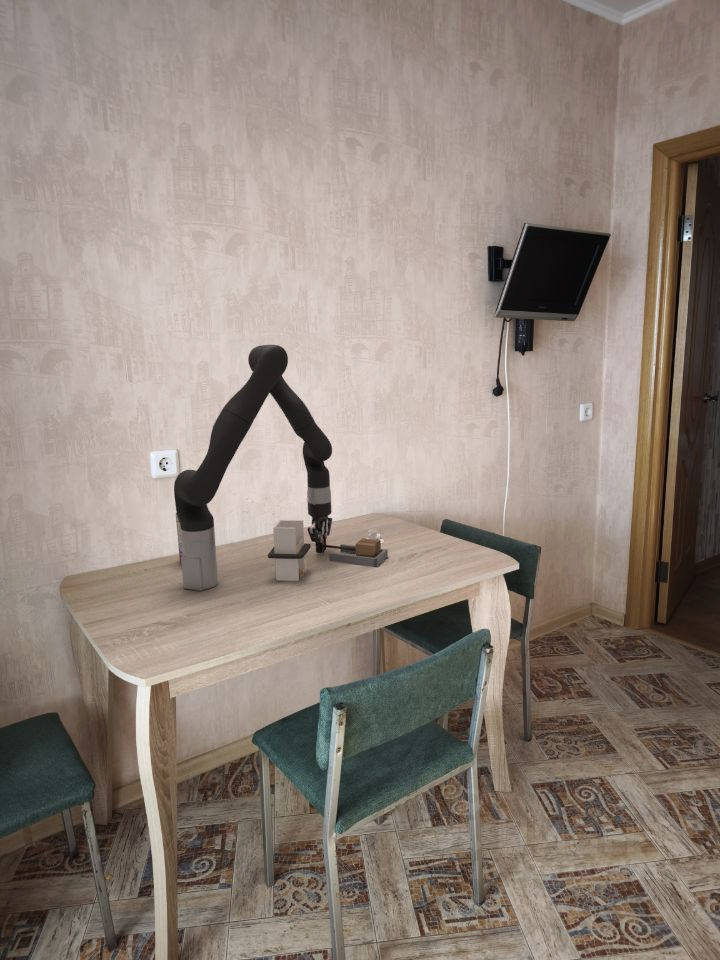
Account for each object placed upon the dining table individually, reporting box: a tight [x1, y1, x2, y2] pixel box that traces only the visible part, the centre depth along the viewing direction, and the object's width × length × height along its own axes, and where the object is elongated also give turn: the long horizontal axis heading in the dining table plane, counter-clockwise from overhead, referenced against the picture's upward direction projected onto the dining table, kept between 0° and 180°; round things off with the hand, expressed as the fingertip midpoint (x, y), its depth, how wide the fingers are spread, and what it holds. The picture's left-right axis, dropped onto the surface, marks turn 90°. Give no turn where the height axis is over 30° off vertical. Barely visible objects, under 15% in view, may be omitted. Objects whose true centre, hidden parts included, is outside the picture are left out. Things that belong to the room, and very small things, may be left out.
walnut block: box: [322, 537, 382, 558], centre depth 209 cm, size 6×20×6 cm, turn 67°
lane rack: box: [328, 543, 389, 568], centre depth 208 cm, size 10×16×2 cm, turn 67°
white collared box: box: [267, 519, 311, 582], centre depth 194 cm, size 25×24×16 cm
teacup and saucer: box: [366, 529, 385, 544], centre depth 225 cm, size 9×8×4 cm
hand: (321, 551), depth 213 cm, fingers closed on walnut block, 2 cm apart
